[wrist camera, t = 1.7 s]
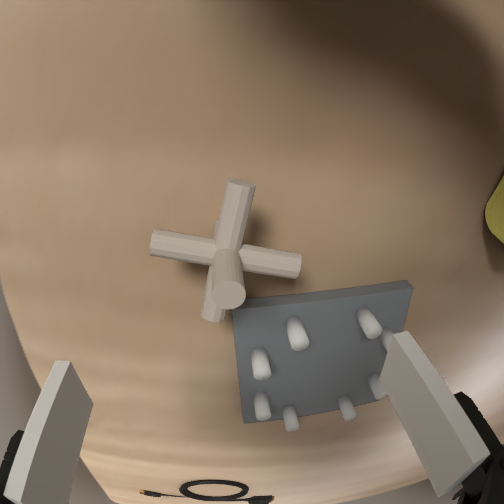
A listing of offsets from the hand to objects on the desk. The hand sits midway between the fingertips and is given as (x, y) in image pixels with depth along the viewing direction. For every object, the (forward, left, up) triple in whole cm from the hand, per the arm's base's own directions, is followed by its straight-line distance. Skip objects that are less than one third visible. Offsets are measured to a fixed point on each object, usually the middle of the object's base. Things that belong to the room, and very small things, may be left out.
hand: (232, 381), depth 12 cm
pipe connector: (0, 0, -16) cm, 16 cm away
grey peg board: (+16, +9, -16) cm, 24 cm away
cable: (+53, -8, -17) cm, 56 cm away
